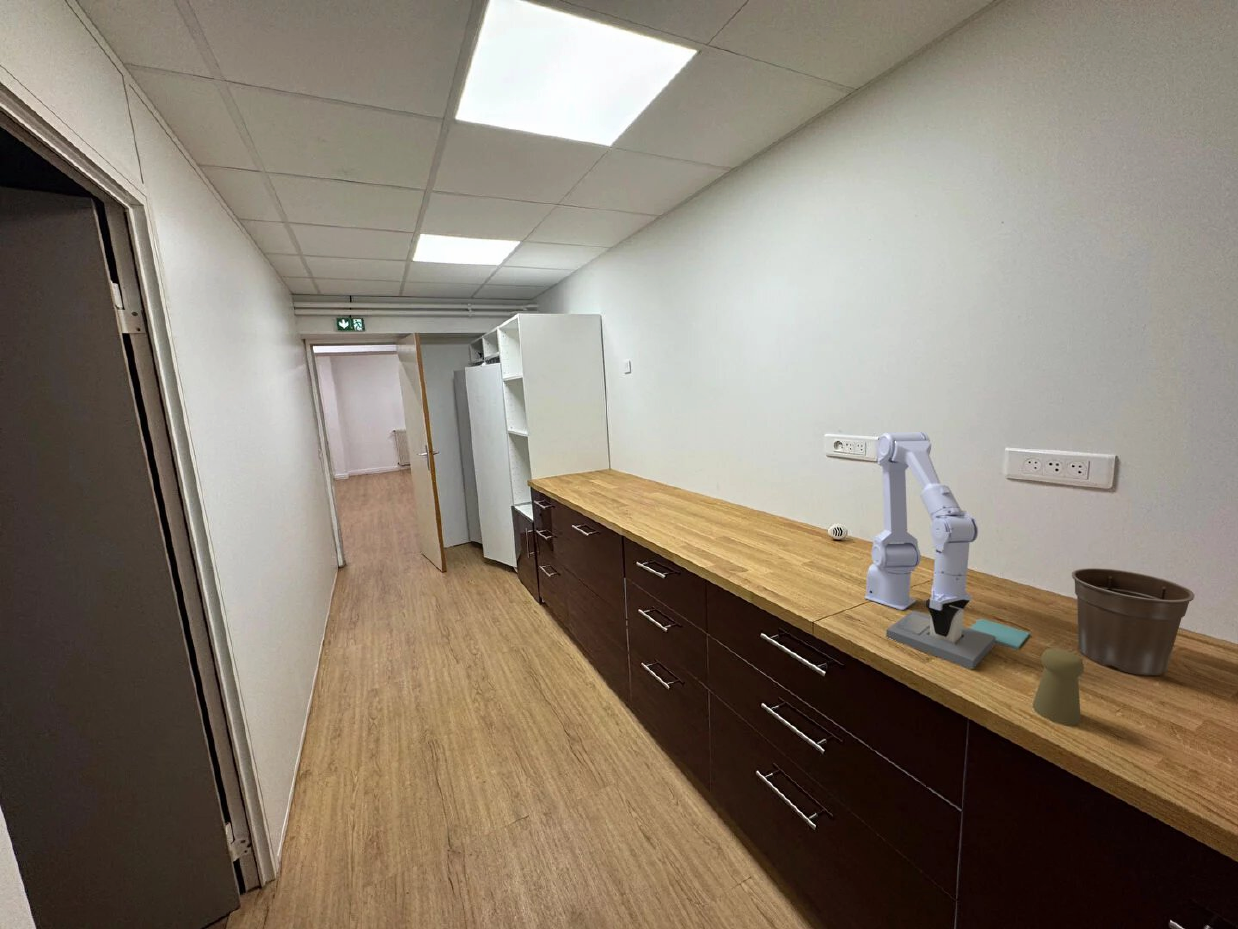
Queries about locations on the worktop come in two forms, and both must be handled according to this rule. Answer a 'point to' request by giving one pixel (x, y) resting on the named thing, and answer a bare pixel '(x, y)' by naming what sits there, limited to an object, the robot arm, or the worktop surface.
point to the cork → (1059, 687)
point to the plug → (951, 628)
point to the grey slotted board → (917, 636)
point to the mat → (1002, 633)
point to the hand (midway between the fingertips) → (945, 630)
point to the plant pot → (1128, 618)
